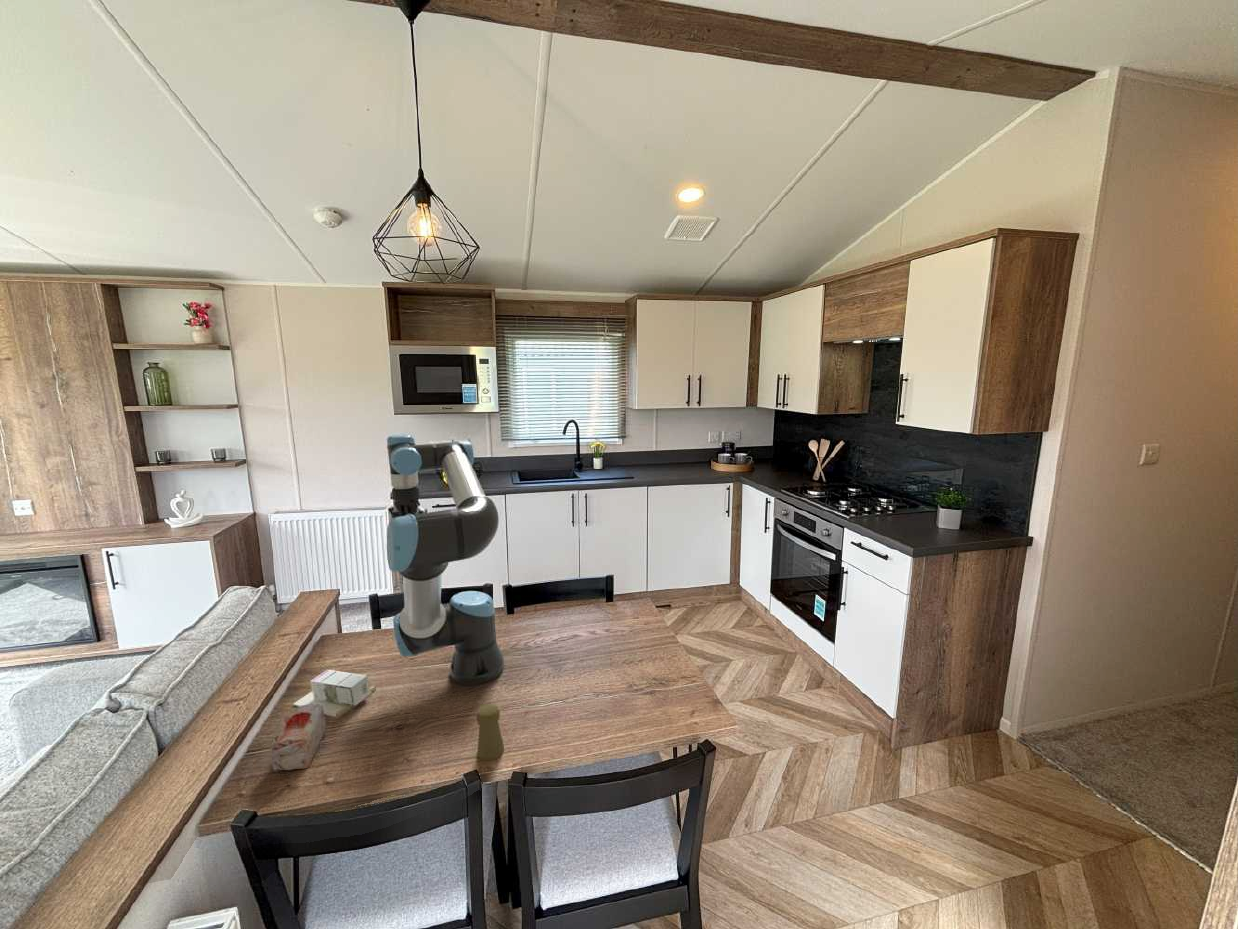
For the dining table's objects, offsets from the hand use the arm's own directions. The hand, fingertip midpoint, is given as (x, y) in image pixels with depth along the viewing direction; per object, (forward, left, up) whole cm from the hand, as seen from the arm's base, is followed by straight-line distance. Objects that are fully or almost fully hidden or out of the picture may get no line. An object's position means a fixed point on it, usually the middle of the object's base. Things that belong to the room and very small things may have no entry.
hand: (412, 559), depth 153 cm
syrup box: (-6, +28, -25) cm, 38 cm away
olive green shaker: (-47, +31, -30) cm, 64 cm away
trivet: (+4, +28, -29) cm, 41 cm away
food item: (-6, +45, -30) cm, 55 cm away
